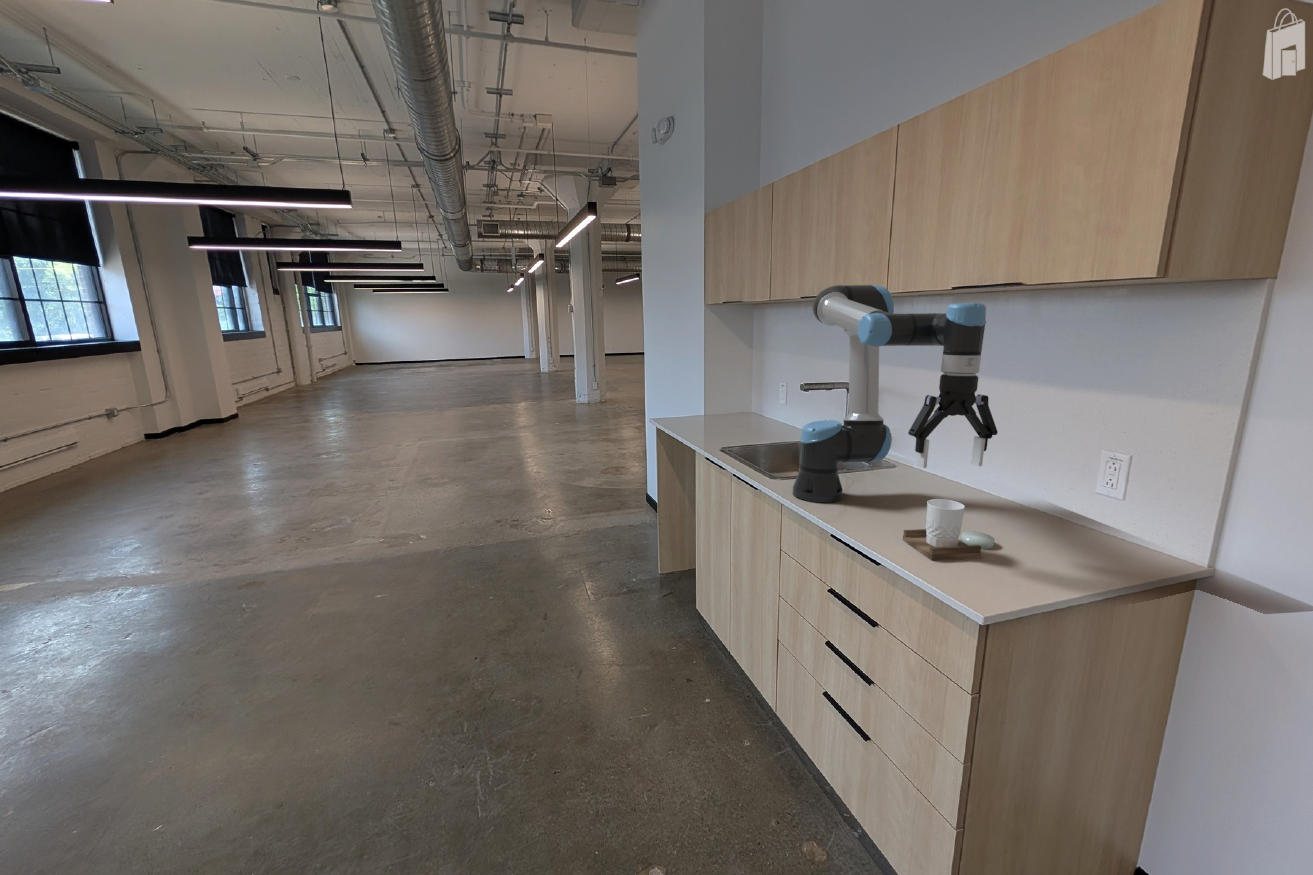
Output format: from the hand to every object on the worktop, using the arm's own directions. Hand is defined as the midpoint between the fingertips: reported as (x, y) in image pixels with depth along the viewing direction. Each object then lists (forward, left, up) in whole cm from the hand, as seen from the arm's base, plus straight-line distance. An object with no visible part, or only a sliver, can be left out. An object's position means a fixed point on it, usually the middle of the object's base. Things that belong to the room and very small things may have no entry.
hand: (949, 465), depth 125 cm
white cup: (0, 0, -20) cm, 20 cm away
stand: (0, 0, -20) cm, 21 cm away
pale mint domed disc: (-2, +11, -21) cm, 24 cm away
